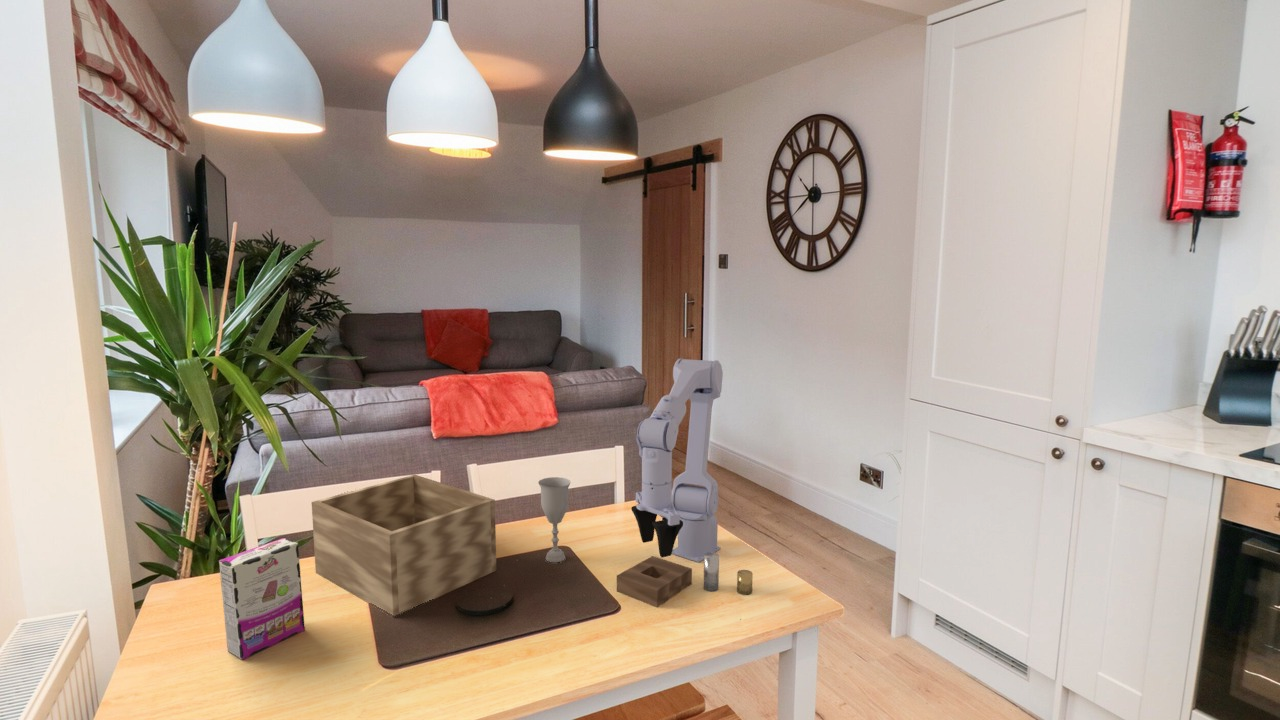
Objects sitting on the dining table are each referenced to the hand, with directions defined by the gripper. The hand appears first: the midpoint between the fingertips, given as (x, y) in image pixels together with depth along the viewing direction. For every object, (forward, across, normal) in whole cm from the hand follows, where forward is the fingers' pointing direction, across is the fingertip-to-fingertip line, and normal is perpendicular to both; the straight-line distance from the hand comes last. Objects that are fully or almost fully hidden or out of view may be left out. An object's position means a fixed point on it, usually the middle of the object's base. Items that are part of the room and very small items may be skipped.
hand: (656, 548), depth 130 cm
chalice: (+10, -25, -12) cm, 29 cm away
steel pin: (+10, +1, +12) cm, 16 cm away
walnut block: (+10, -4, +2) cm, 11 cm away
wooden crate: (+10, -32, -42) cm, 54 cm away
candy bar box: (+10, -15, -68) cm, 70 cm away
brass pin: (+10, +6, +17) cm, 21 cm away
